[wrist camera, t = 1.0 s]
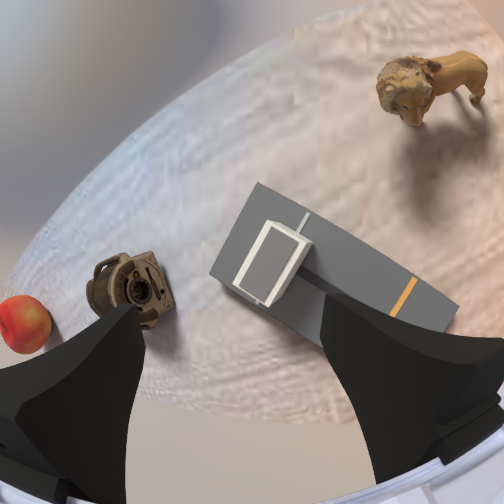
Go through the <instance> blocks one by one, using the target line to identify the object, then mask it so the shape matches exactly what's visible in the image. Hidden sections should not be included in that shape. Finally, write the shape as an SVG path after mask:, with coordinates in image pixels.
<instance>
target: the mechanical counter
mask: <svg viewBox="0 0 504 504" xmlns="http://www.w3.org/2000/svg"><path fill="white" fill-rule="evenodd" d="M105 265H108V266H107V267H106V268H105V269H104V270H103V271H102V272H101V270H102V268H103V266H105ZM93 279H94V280H93ZM93 279H92V280H90V281H88V283H87V286H86V296H87V300H88V303H89V305H90V307H91V308H92V310H93V311H94V312H95V313H96V314H97V315H98V316H99V317H100V318H101V317H102V316H104V315H105V314H106V313H108V312H109V311H111V310H112V309H113V308H115V307H116V306H118V305H120V304H136V305H137V310H138V315H139V320H140V325H141V329H142V330H150V329H152V328H154V327H155V326H156V325H157V319H158V317H159V316H161V315H162V314H164V313H165V312H167V311H168V310H170V309H171V308H173V307H174V305H175V304H174V301H173V299H172V297H171V294H170V292H169V290H168V287H167V285H166V282H165V280H164V278H163V275H162V273H161V270H160V268H159V265H158V263H157V260H156V258H155V256H154V253H153V252H152V251H148V252H145V253H142V254H140V255H137V256H134V257H130V256H129V255H128V254H127V253H120V254H117V255H115V256H113V257H111V258H108V259H106V260H104V261H102V262H100V263H98V264H97V265H96V267H95V271H94V278H93Z"/></svg>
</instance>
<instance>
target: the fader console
mask: <svg viewBox="0 0 504 504" xmlns="http://www.w3.org/2000/svg"><path fill="white" fill-rule="evenodd" d="M267 220H270V221H275V222H279V223H282V224H283V225H285V226H287V227H289V228H290V229H292V230H294V231H296V232H297V233H299V234H301V235H302V236H304V237H306V238H307V239H309V240H311V241H312V242H313V244H312V246H311V248H310V249H309V251H308V253H307V255H306V256H305V258H304V260H303V261H302V263H301V265H300V267H299V268H298V270H297V272H296V273H295V275H294V277H293V278H292V280H291V282H290V283H289V285H288V287H287V288H286V290H285V292H284V293H283V295H282V296H281V297H280V298H279V299H278V300H277V301H276V302H274V303H273V304H272V305H271V306H270V307H267V306H265V305H264V304H262V303H261V302H259V301H258V300H256V299H254V298H253V297H251V296H250V295H248V294H247V293H245V292H244V291H242V290H241V289H239V288H238V287H236V286H235V285H233V284H232V283H233V281H234V279H235V278H236V276H237V274H238V272H239V270H240V268H241V267H242V265H243V263H244V261H245V259H246V257H247V256H248V254H249V252H250V250H251V248H252V246H253V245H254V243H255V241H256V239H257V237H258V236H259V234H260V232H261V230H262V228H263V226H264V225H265V223H266V221H267ZM209 274H210V275H211V276H213V277H214V278H216V279H217V280H218V281H220V282H221V283H223V284H224V285H226V286H227V287H229V288H230V289H232V290H233V291H235V292H236V293H238V294H239V295H241V296H242V297H244V298H245V299H247V300H248V301H250V302H251V303H253V304H254V305H256V306H257V307H259V308H260V309H262V310H263V311H265V312H266V313H268V314H269V315H271V316H273V317H274V318H276V319H277V320H279V321H280V322H282V323H283V324H285V325H287V326H288V327H290V328H291V329H293V330H294V331H296V332H298V333H299V334H301V335H302V336H304V337H306V338H307V339H309V340H310V341H312V342H314V343H315V344H317V345H318V346H320V347H322V348H323V346H322V343H321V340H320V338H319V336H320V329H321V322H322V315H323V308H324V300H325V294H331V293H342V294H345V295H347V296H349V297H352V298H354V299H356V300H358V301H360V302H362V303H364V304H366V305H368V306H370V307H372V308H375V309H377V310H379V311H381V312H383V313H385V314H388V315H390V316H392V317H395V318H397V319H399V320H402V321H405V322H407V323H410V324H413V325H416V326H419V327H422V328H426V329H429V330H433V331H438V332H442V333H443V332H444V331H445V329H446V328H447V326H448V325H449V323H450V321H451V320H452V318H453V317H454V315H455V313H456V312H457V310H458V308H459V307H460V306H459V305H457V304H456V303H455V302H453V301H452V300H450V299H449V298H448V297H446V296H445V295H443V294H442V293H441V292H439V291H438V290H436V289H435V288H433V287H432V286H430V285H429V284H428V283H426V282H425V281H423V280H422V279H420V278H419V277H417V276H416V275H414V274H413V273H411V272H410V271H408V270H407V269H405V268H404V267H402V266H401V265H399V264H398V263H396V262H395V261H393V260H391V259H390V258H388V257H387V256H385V255H384V254H382V253H380V252H379V251H377V250H376V249H374V248H372V247H371V246H369V245H368V244H366V243H364V242H363V241H361V240H360V239H358V238H356V237H355V236H353V235H351V234H350V233H348V232H346V231H345V230H343V229H341V228H340V227H338V226H336V225H334V224H333V223H331V222H329V221H328V220H326V219H324V218H322V217H321V216H319V215H317V214H315V213H314V212H312V211H310V210H308V209H307V208H305V207H303V206H301V205H299V204H298V203H296V202H294V201H292V200H290V199H289V198H287V197H285V196H283V195H281V194H279V193H277V192H276V191H274V190H272V189H270V188H268V187H266V186H264V185H262V184H260V183H259V182H257V183H256V185H255V187H254V189H253V191H252V193H251V194H250V196H249V198H248V200H247V202H246V204H245V206H244V207H243V209H242V211H241V213H240V215H239V217H238V219H237V221H236V222H235V224H234V226H233V228H232V230H231V232H230V234H229V236H228V238H227V240H226V241H225V243H224V245H223V247H222V249H221V251H220V253H219V255H218V257H217V259H216V261H215V263H214V265H213V267H212V269H211V270H210V272H209Z"/></svg>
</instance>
